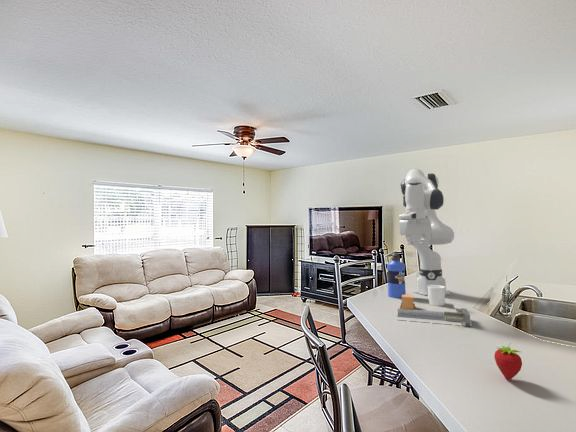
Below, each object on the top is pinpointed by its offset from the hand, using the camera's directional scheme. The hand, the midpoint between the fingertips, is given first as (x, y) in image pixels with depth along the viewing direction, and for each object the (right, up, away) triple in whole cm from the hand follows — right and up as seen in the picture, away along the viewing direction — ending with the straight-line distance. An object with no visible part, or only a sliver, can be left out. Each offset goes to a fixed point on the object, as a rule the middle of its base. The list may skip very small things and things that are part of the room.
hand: (416, 244), depth 150 cm
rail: (0, -31, -16) cm, 35 cm away
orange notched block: (-5, -30, -2) cm, 30 cm away
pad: (-5, -31, -2) cm, 32 cm away
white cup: (+11, -31, +3) cm, 33 cm away
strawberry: (-3, -30, -67) cm, 73 cm away
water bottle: (-2, -32, +20) cm, 38 cm away
